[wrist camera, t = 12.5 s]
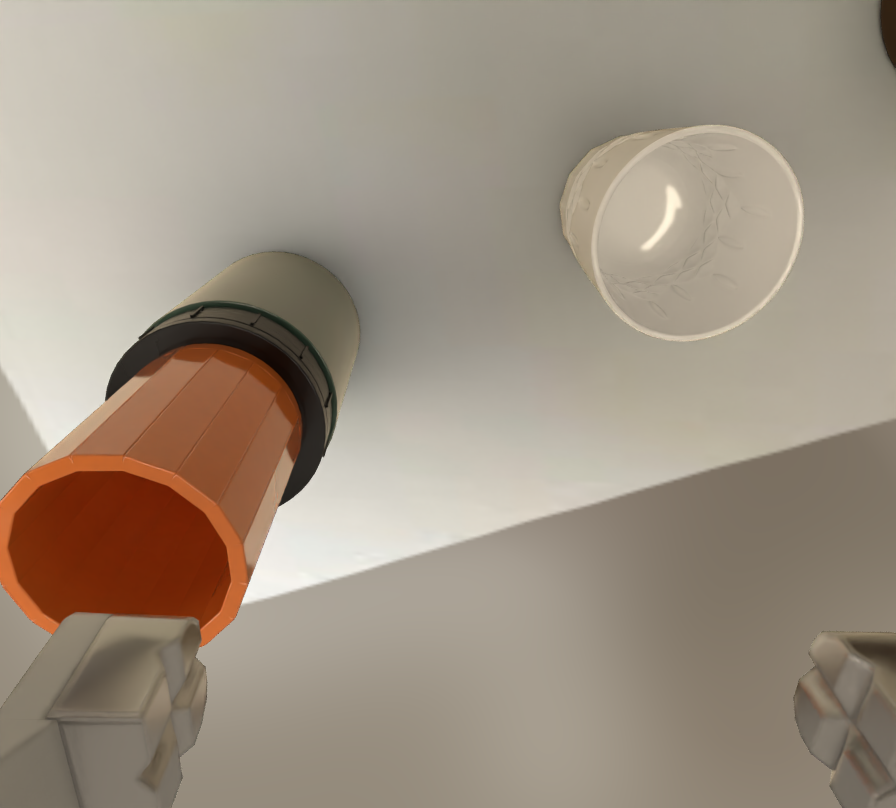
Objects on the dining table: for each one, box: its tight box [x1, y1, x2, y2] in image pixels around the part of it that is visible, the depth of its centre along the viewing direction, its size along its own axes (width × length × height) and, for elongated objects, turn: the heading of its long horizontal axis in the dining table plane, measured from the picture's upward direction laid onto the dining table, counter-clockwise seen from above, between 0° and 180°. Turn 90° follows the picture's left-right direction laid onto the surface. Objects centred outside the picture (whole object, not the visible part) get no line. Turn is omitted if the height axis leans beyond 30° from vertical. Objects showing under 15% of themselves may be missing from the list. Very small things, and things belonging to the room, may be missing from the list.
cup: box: [0, 343, 303, 647], centre depth 21 cm, size 6×6×8 cm
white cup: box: [560, 125, 804, 341], centre depth 29 cm, size 8×8×10 cm
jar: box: [139, 251, 360, 447], centre depth 31 cm, size 8×8×12 cm
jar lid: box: [105, 306, 333, 507], centre depth 26 cm, size 8×8×2 cm
